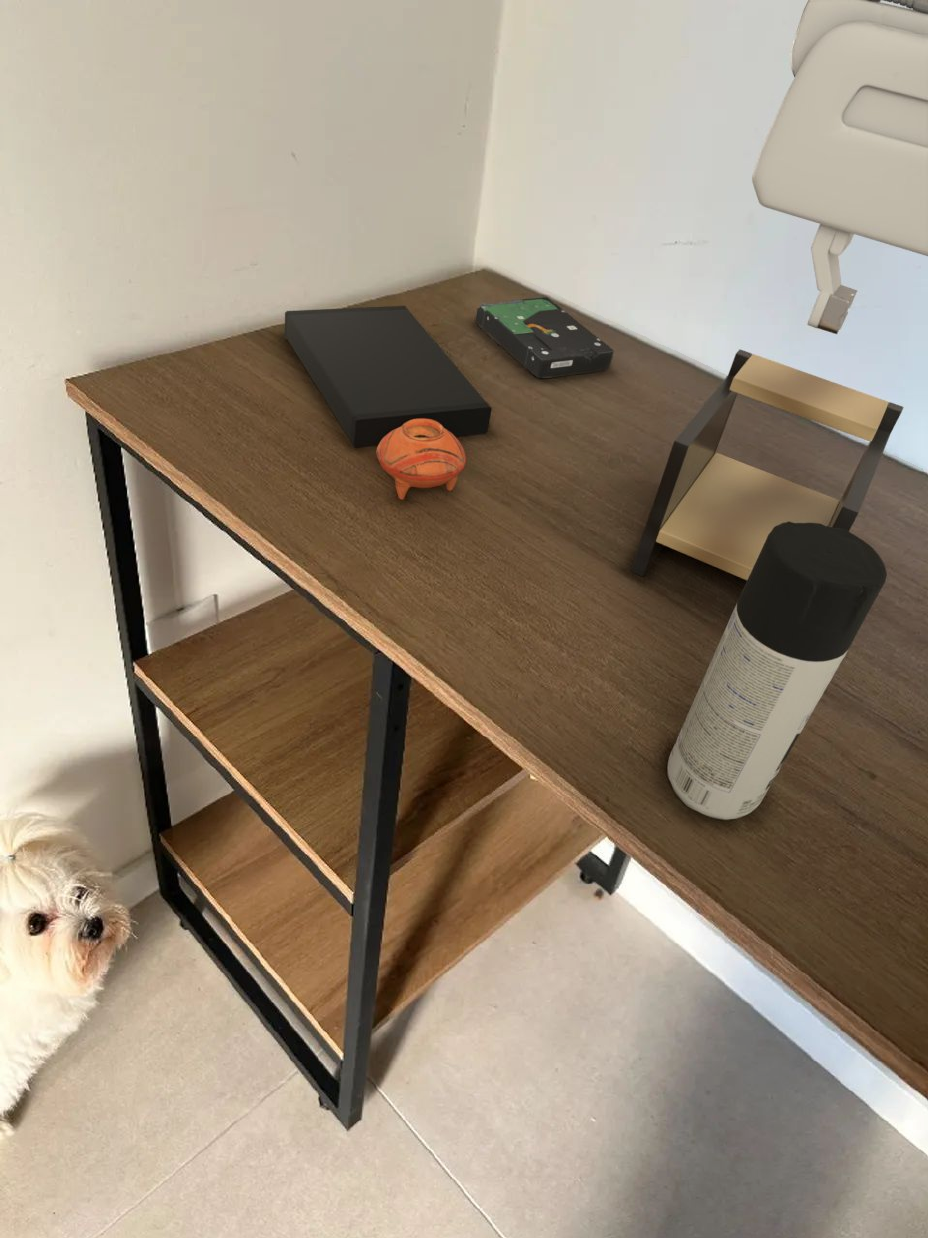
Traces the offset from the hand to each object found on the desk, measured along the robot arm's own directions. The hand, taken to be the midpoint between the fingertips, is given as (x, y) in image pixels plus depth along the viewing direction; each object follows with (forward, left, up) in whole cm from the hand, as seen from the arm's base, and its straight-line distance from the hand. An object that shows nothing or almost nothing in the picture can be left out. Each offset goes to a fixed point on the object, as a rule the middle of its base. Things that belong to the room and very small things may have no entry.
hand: (922, 359), depth 43 cm
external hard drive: (+47, -31, -31) cm, 64 cm away
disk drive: (+38, -52, -31) cm, 71 cm away
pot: (+34, -17, -31) cm, 49 cm away
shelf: (+6, -26, -31) cm, 41 cm away
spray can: (0, +1, -31) cm, 31 cm away
